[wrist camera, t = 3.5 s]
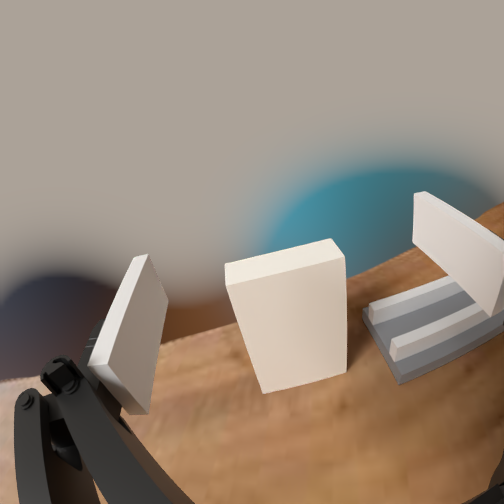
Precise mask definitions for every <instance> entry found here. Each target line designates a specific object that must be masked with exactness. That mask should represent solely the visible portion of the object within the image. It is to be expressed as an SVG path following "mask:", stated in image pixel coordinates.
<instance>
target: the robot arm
mask: <svg viewBox="0 0 504 504" xmlns="http://www.w3.org/2000/svg"><path fill="white" fill-rule="evenodd" d="M412 242H413V243H414V244H415V245H417V246H418V247H419V248H420V249H421V250H422V251H423V252H424V253H426V254H427V255H428V256H429V257H430V258H431V259H432V260H433V261H434V262H435V263H437V264H438V265H439V266H440V267H441V268H442V269H443V270H444V271H445V272H446V273H447V274H448V275H449V276H450V277H451V278H452V279H453V280H454V281H456V282H457V283H458V284H459V285H460V286H461V287H462V288H463V289H464V290H465V291H466V292H467V293H468V294H469V295H470V296H471V297H472V299H473V300H474V301H475V302H476V303H477V304H478V305H479V306H480V307H481V308H482V309H483V310H484V311H485V312H486V313H487V314H488V315H489V317H492V316H494V315H496V314H498V313H499V312H501V311H502V309H503V306H504V240H503V239H502V238H501V237H498V235H496V234H495V233H493V232H492V231H491V230H488V229H486V228H485V227H483V226H482V225H480V224H479V223H477V222H476V221H474V220H473V219H470V218H469V217H468V216H466V215H465V214H463V213H461V212H460V211H458V210H457V209H455V208H453V207H451V206H450V205H448V204H447V203H445V202H443V201H441V200H439V199H438V198H436V197H434V196H432V195H431V194H429V193H427V192H420V193H415V194H414V223H413V241H412ZM167 306H168V299H167V296H166V294H165V292H164V290H163V287H162V285H161V283H160V280H159V278H158V276H157V273H156V271H155V268H154V266H153V264H152V261H151V259H150V256H149V254H146V255H142V256H138V257H134V258H133V260H132V263H131V265H130V267H129V269H128V271H127V273H126V275H125V277H124V279H123V281H122V284H121V286H120V288H119V290H118V292H117V294H116V297H115V299H114V301H113V303H112V306H111V308H110V310H109V313H108V315H107V317H106V319H101V320H100V321H99V322H98V323H97V325H96V326H95V327H94V328H93V330H92V332H91V335H90V337H89V340H88V342H87V344H86V348H85V349H84V351H83V354H82V356H81V358H80V361H79V364H78V366H76V365H75V364H74V362H73V361H72V360H71V359H70V358H69V357H68V356H66V355H60V356H57V357H55V358H53V359H51V360H50V361H49V362H48V363H47V364H46V365H45V367H44V368H43V369H42V372H41V375H40V377H41V381H42V383H43V384H44V385H45V386H46V387H47V388H48V389H49V390H50V391H51V392H52V394H49V395H46V396H42V395H41V394H40V393H39V392H38V391H37V390H36V389H34V388H30V389H27V390H25V391H24V392H22V393H21V395H19V397H18V399H17V401H16V404H15V412H14V453H15V469H16V480H17V489H18V497H19V503H20V504H100V501H99V498H98V494H97V491H96V488H95V485H94V481H95V483H96V485H97V486H98V488H99V490H100V491H101V493H102V495H103V496H104V498H105V499H106V501H107V503H108V504H195V503H194V502H193V501H192V500H191V499H190V498H189V497H188V496H187V495H186V494H185V493H184V492H183V491H182V490H181V489H180V488H179V487H178V486H177V485H176V484H175V483H174V481H173V480H172V479H171V478H170V477H169V476H168V475H167V474H166V472H165V471H164V470H163V469H162V468H161V467H160V466H159V464H158V463H157V462H156V461H155V460H154V458H153V457H152V456H151V455H150V453H149V452H148V451H147V450H146V448H145V447H144V446H143V445H142V443H141V442H140V441H139V439H138V438H137V437H136V435H135V434H134V433H133V431H132V430H131V428H130V427H129V426H128V424H127V423H126V421H125V420H124V419H123V418H122V417H121V416H120V412H121V408H122V407H123V408H124V409H125V410H126V412H127V413H128V414H129V415H145V414H149V408H150V401H151V394H152V387H153V381H154V375H155V369H156V363H157V357H158V352H159V346H160V341H161V336H162V330H163V325H164V320H165V315H166V310H167ZM503 326H504V321H503ZM93 479H94V481H93ZM462 504H504V451H503V456H502V459H501V461H500V463H499V465H498V466H497V468H496V470H495V471H494V474H493V476H492V478H491V481H490V484H489V488H488V489H487V490H486V491H484V492H482V493H481V494H479V495H477V496H475V497H474V498H472V499H470V500H468V501H466V502H464V503H462Z"/></svg>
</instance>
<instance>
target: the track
mask: <svg viewBox="0 0 504 504" xmlns="http://www.w3.org/2000/svg"><path fill="white" fill-rule="evenodd" d="M362 319H363V321H364V323H365V325H366V326H367V328H368V330H369V332H370V333H371V335H372V337H373V339H374V340H375V342H376V344H377V346H378V348H379V349H380V351H381V353H382V355H383V357H384V358H385V360H386V362H387V364H388V366H389V368H390V370H391V371H392V373H393V375H394V377H395V379H396V381H397V383H398V385H400V384H403V383H405V382H407V381H410V380H412V379H414V378H417V377H419V376H421V375H424V374H426V373H428V372H430V371H432V370H434V369H436V368H438V367H441V366H443V365H445V364H447V363H449V362H451V361H453V360H454V359H456V358H458V357H460V356H462V355H464V354H466V353H468V352H469V351H471V350H473V349H475V348H477V347H478V346H480V345H482V344H483V343H485V342H487V341H489V340H490V339H492V338H493V337H495V336H497V335H498V334H500V333H501V332H503V331H504V326H503V321H504V306H503V309H502V311H501V312H499V313H498V314H496V315H494V316H492V317H489V315H488V314H487V313H486V312H485V311H484V310H483V309H482V308H481V307H480V306H479V305H478V304H477V303H476V302H475V301H474V300H473V299H472V297H471V296H470V295H469V294H468V293H467V292H466V291H465V290H464V289H463V288H462V287H461V286H460V285H459V284H458V283H457V282H456V281H454V280H453V279H452V278H451V277H450V276H446V277H444V278H441V279H439V280H436V281H433V282H430V283H428V284H425V285H422V286H419V287H416V288H414V289H411V290H408V291H405V292H402V293H399V294H396V295H393V296H390V297H387V298H384V299H381V300H378V301H375V302H371V303H369V307H365V308H363V314H362Z"/></svg>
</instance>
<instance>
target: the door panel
mask: <svg viewBox="0 0 504 504" xmlns="http://www.w3.org/2000/svg"><path fill="white" fill-rule="evenodd" d="M225 281H226V288H227V291H228V294H229V297H230V300H231V303H232V306H233V309H234V312H235V315H236V318H237V321H238V324H239V327H240V330H241V333H242V336H243V339H244V342H245V345H246V347H247V350H248V353H249V356H250V359H251V362H252V365H253V367H254V370H255V373H256V376H257V379H258V381H259V384H260V387H261V390H262V392H263V394H264V393H269V392H274V391H278V390H283V389H287V388H291V387H295V386H299V385H303V384H307V383H311V382H315V381H318V380H322V379H325V378H329V377H332V376H336V375H339V374H342V373H345V372H346V368H347V296H346V270H345V256H344V255H343V254H342V252H341V251H340V250H339V248H338V247H337V246H336V244H335V243H334V241H333V240H332V239H326V240H322V241H318V242H314V243H310V244H306V245H301V246H298V247H293V248H289V249H285V250H281V251H277V252H272V253H269V254H264V255H260V256H256V257H251V258H248V259H243V260H239V261H235V262H231V263H226V264H225Z"/></svg>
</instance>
